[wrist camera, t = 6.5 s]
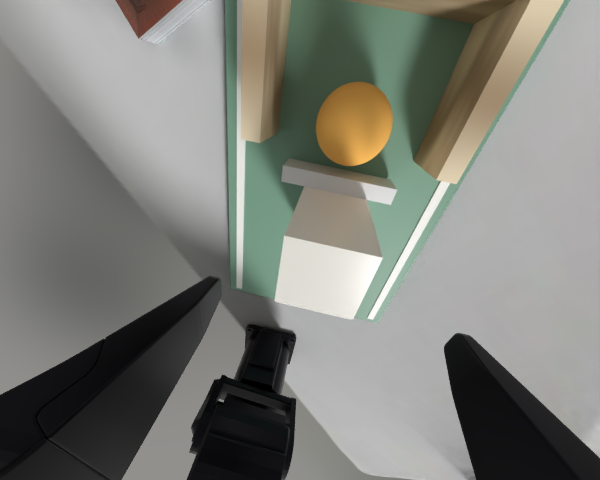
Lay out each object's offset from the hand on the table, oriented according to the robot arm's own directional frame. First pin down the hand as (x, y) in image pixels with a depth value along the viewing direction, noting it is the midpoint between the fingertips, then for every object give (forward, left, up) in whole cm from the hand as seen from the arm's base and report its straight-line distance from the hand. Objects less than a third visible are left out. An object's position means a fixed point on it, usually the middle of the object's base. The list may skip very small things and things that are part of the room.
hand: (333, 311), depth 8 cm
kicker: (0, 0, -10) cm, 10 cm away
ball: (+6, 0, -8) cm, 10 cm away
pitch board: (0, 0, -11) cm, 11 cm away
